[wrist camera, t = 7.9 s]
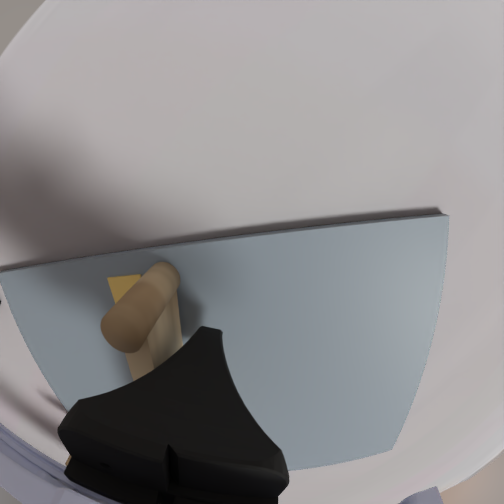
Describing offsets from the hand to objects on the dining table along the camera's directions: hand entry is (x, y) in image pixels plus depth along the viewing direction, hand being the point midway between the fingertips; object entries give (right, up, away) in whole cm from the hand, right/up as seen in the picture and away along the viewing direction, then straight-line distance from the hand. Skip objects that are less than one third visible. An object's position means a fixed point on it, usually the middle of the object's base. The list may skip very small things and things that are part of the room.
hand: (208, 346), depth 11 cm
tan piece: (-2, -3, +2) cm, 4 cm away
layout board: (-1, -5, +3) cm, 6 cm away
